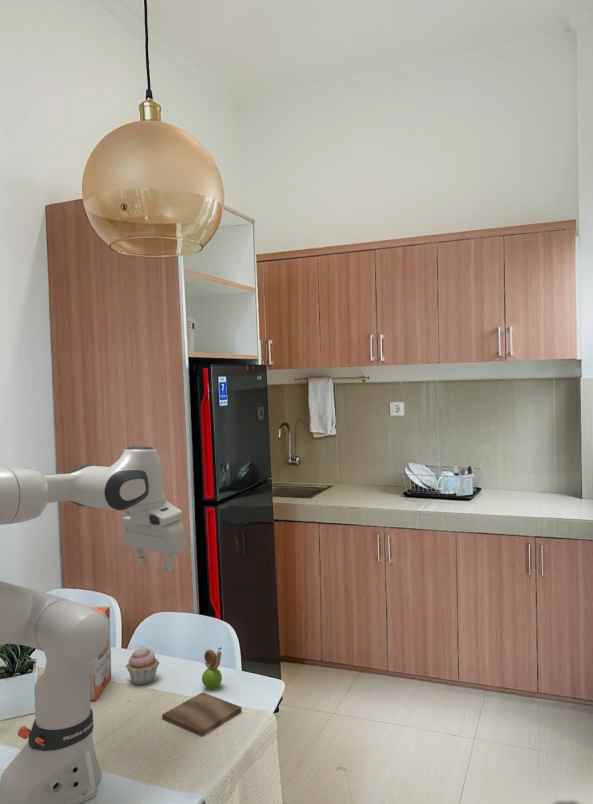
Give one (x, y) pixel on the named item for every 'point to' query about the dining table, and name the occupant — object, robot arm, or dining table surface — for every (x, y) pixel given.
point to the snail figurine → (212, 669)
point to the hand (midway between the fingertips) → (156, 566)
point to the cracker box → (101, 662)
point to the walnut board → (201, 713)
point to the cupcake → (142, 666)
